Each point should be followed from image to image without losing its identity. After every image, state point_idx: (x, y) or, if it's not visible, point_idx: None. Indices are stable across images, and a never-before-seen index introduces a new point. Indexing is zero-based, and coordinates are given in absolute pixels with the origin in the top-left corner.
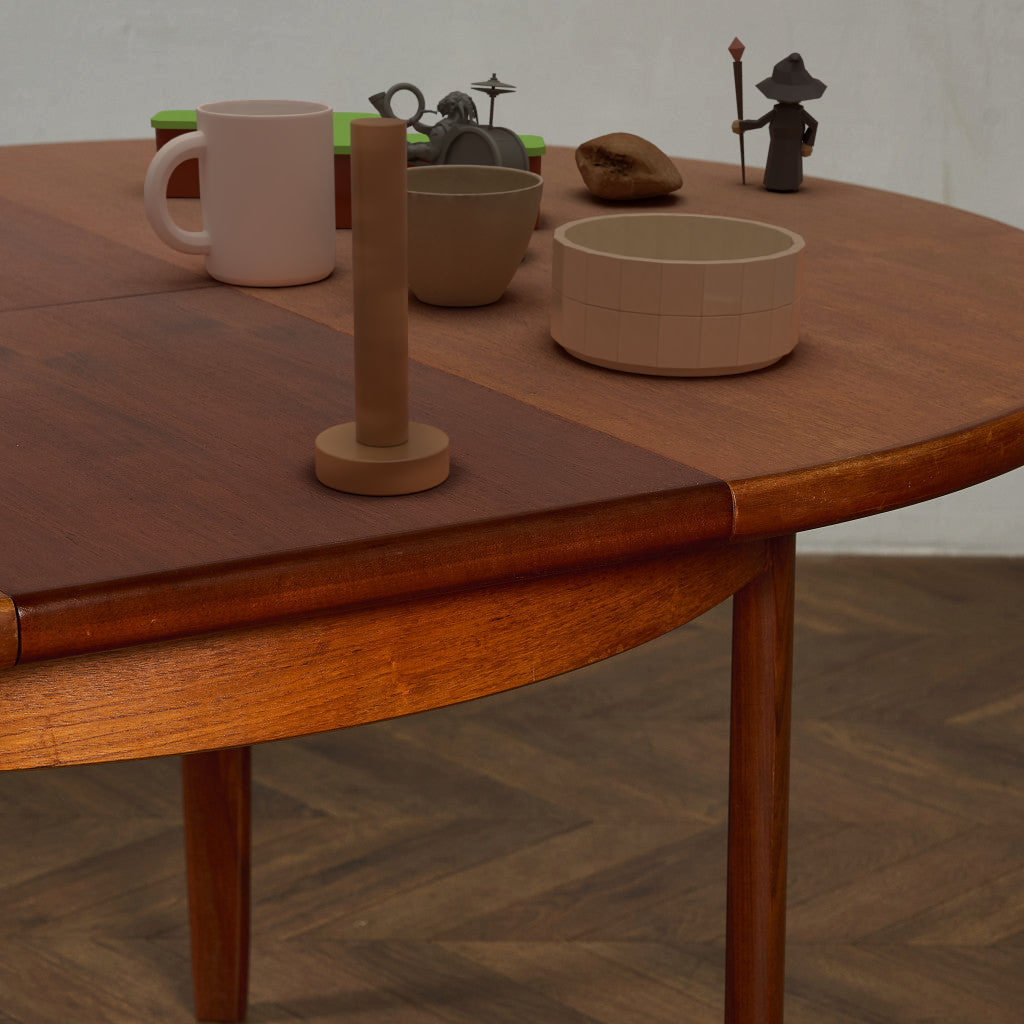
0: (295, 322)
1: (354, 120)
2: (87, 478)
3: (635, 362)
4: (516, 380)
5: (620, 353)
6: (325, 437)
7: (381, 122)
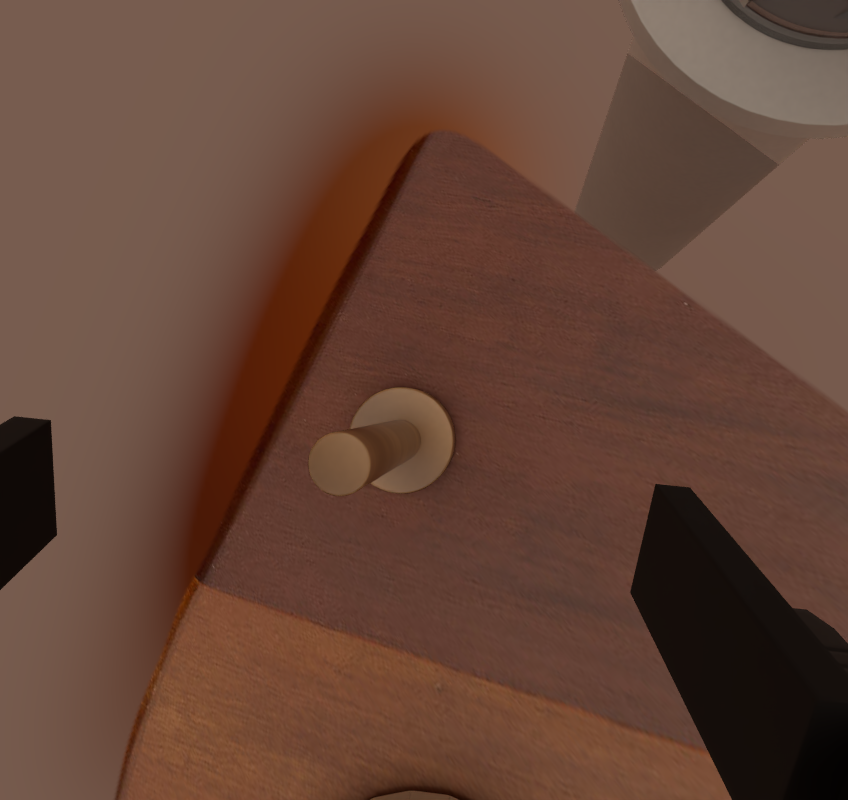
0: None
1: (362, 450)
2: (575, 288)
3: (393, 794)
4: (475, 714)
5: (406, 795)
6: (438, 416)
7: (329, 458)
